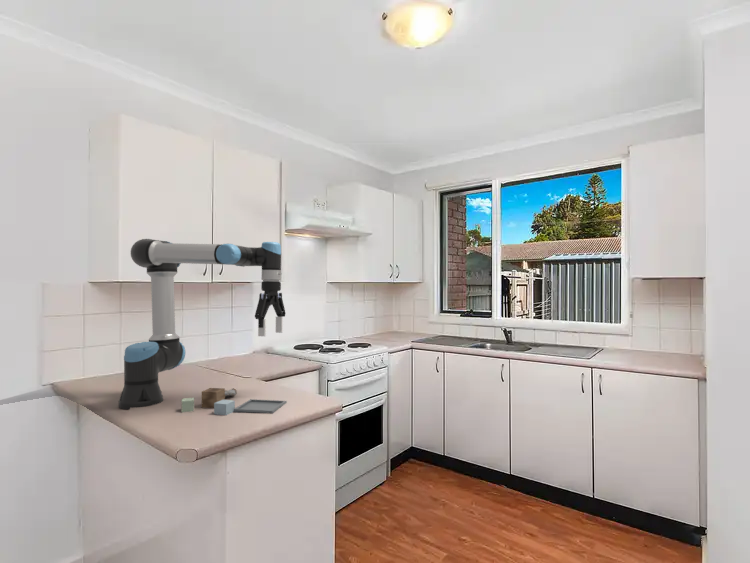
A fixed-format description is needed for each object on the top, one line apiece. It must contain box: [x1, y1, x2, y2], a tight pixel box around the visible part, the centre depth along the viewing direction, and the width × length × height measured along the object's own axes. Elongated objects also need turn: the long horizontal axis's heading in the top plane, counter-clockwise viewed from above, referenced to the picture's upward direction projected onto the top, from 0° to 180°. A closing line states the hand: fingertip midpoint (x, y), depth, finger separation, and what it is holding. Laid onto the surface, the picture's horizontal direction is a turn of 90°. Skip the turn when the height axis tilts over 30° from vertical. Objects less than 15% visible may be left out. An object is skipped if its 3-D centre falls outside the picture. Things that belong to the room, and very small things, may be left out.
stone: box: [225, 388, 238, 398], centre depth 177 cm, size 10×7×3 cm
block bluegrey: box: [213, 399, 236, 416], centre depth 156 cm, size 5×5×4 cm
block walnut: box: [201, 387, 226, 409], centre depth 165 cm, size 6×6×6 cm
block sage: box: [181, 397, 195, 413], centre depth 159 cm, size 4×4×4 cm
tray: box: [233, 398, 287, 415], centre depth 162 cm, size 15×14×1 cm
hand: (270, 334), depth 174 cm, fingers open, 13 cm apart
